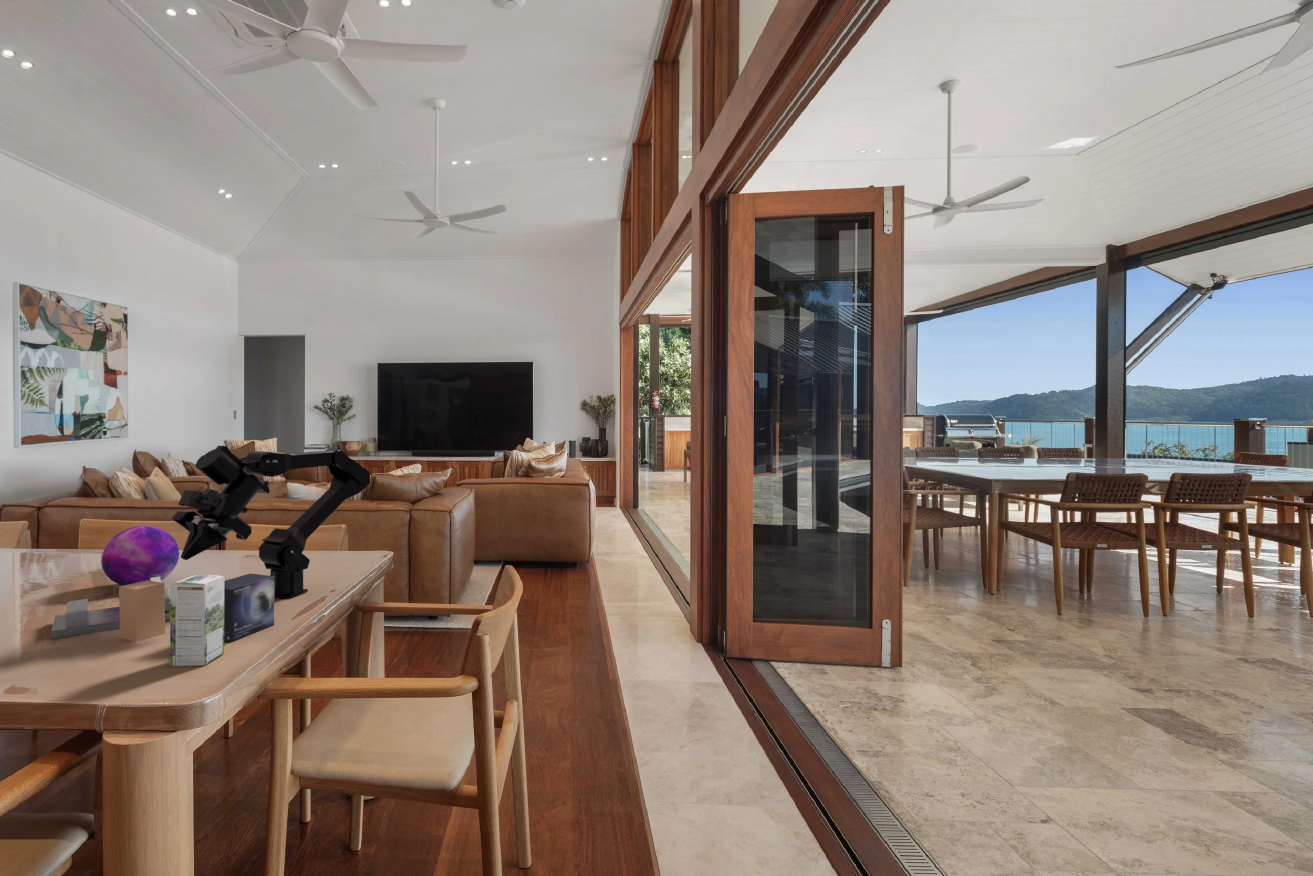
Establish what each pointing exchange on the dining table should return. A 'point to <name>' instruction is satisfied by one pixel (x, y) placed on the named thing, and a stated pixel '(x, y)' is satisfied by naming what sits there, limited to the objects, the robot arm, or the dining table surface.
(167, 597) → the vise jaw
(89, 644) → the dining table surface
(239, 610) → the small box
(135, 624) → the tan rectangular block
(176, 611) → the syrup box
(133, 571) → the decorative orb
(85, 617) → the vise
